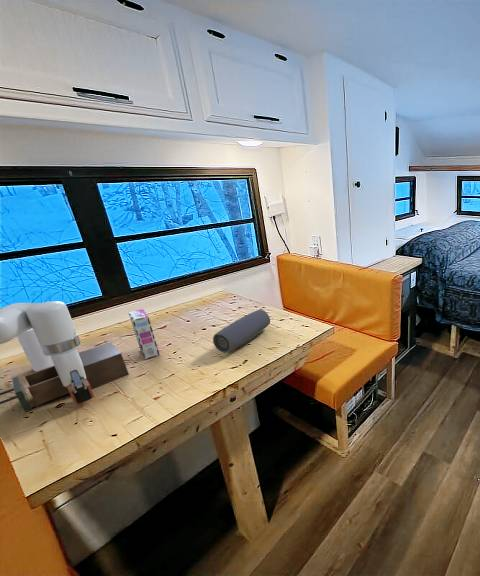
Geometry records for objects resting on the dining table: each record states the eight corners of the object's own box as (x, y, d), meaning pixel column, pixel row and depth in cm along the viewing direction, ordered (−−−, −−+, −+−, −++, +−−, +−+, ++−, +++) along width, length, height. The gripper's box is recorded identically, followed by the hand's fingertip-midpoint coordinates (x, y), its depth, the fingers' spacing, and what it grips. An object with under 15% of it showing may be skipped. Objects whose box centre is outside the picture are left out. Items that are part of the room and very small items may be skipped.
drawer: (-14, 427, 83) (-26, 407, 81) (-15, 409, 90) (-26, 390, 87) (87, 387, 98) (79, 369, 96) (79, 374, 105) (72, 357, 102)
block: (74, 404, 89) (69, 392, 88) (71, 398, 92) (66, 386, 90) (94, 396, 93) (89, 384, 91) (91, 391, 95) (86, 379, 94)
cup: (49, 371, 108) (30, 331, 103) (26, 372, 108) (6, 332, 103) (71, 358, 116) (55, 321, 111) (50, 359, 116) (32, 321, 111)
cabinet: (71, 397, 95) (60, 374, 92) (64, 382, 102) (54, 360, 99) (128, 374, 106) (121, 353, 103) (118, 362, 113) (111, 342, 110)
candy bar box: (161, 355, 117) (148, 316, 112) (145, 360, 114) (131, 321, 108) (155, 344, 125) (143, 308, 119) (140, 349, 121) (127, 312, 116)
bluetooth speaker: (256, 327, 137) (252, 307, 134) (273, 330, 134) (269, 309, 131) (214, 353, 117) (209, 330, 114) (233, 357, 114) (228, 334, 111)
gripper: (38, 340, 88) (61, 392, 94) (46, 360, 78) (71, 417, 84) (73, 330, 94) (93, 380, 100) (85, 348, 84) (106, 402, 90)
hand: (82, 396), depth 92 cm, fingers closed on block, 4 cm apart
